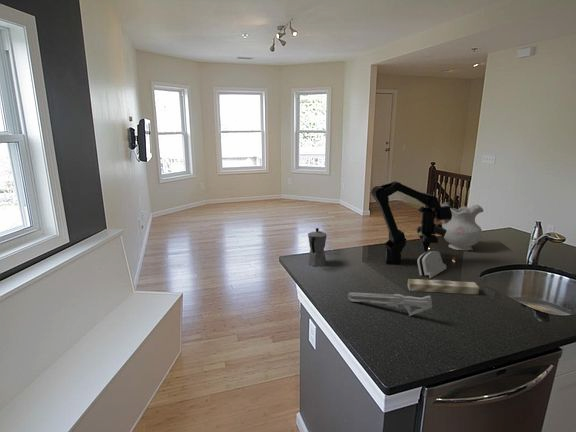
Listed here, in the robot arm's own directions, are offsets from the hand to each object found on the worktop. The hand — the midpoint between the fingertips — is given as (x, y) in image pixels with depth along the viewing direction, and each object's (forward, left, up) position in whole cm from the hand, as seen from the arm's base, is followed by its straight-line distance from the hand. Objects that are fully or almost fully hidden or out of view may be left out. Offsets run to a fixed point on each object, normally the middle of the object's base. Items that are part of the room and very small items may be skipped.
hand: (425, 251), depth 174 cm
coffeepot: (-53, -11, -5) cm, 54 cm away
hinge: (0, -13, -5) cm, 14 cm away
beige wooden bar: (0, -33, -5) cm, 33 cm away
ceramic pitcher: (+22, +24, -5) cm, 33 cm away
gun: (-24, -53, -5) cm, 58 cm away
